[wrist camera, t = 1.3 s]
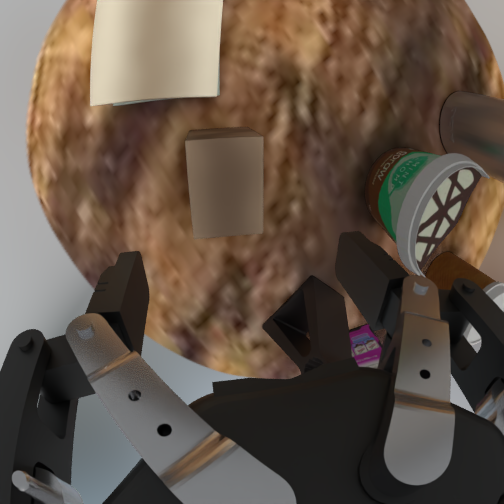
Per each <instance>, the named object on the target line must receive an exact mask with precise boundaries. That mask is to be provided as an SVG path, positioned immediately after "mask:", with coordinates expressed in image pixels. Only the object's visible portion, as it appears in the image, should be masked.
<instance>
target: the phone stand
mask: <svg viewBox="0 0 504 504" xmlns="http://www.w3.org/2000/svg"><path fill="white" fill-rule="evenodd" d="M262 328H263V329H264V330H265V331H266V332H267V333H268V334H269V336H270V337H271V338H272V339H273V340H274V341H275V342H276V343H277V344H278V345H279V346H280V347H281V348H282V350H283V351H284V352H285V353H286V354H287V355H288V356H289V357H290V358H291V359H292V360H293V361H294V362H295V363H296V364H297V366H298V367H299V369H300V371H301V374H303V373H306V372H308V371H310V370H312V369H314V368H317V367H319V366H321V365H323V364H328V363H332V362H336V361H341V360H345V359H349V358H352V350H351V342H350V335H349V327H348V320H347V314H346V307H345V301H344V297H343V296H341V295H340V294H339V293H337V292H336V291H334V290H333V289H331V288H330V287H328V286H327V285H325V284H324V283H322V282H321V281H319V280H318V279H316V278H315V277H314V276H310V277H309V278H308V279H307V280H306V281H305V282H304V283H303V285H302V286H301V287H300V288H299V289H298V290H297V291H296V292H295V293H294V294H293V295H292V296H291V297H290V298H289V299H288V300H287V302H286V303H284V304H283V305H282V306H281V307H280V308H279V309H278V310H277V311H276V312H275V313H274V314H273V315H272V316H271V317H270V318H269V319H268V320H267V321H266V322H265V323H264V324H263V326H262ZM308 331H309V334H310V340H309V339H308V338H307V337H306V333H307V332H308Z"/></svg>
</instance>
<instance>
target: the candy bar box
mask: <svg viewBox="0 0 504 504" xmlns="http://www.w3.org/2000/svg"><path fill="white" fill-rule="evenodd" d="M349 335H350V342H351V350H352V358H353V357H354V358H355V360H356V362H357V364H358V366H359V367H371V368H377V367H378V363H379V359H380V354H381V349H382V344H381V343H380V341H379V339H378V338H377V336H376V335H375V333H374V331H373V330H372V328H371V327H370V325H369V324H367V325H364V326H361V327H358V328H355V329H352V330H350V331H349Z"/></svg>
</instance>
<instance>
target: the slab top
mask: <svg viewBox="0 0 504 504" xmlns="http://www.w3.org/2000/svg"><path fill="white" fill-rule="evenodd" d="M222 6H223V0H97V6H96V13H95V21H94V31H93V41H92V55H91V78H90V106H97V105H107V104H115V103H123V102H132V101H142V100H154V99H169V98H194V97H217V87H218V67H219V49H220V33H221V19H222Z"/></svg>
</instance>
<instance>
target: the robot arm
mask: <svg viewBox="0 0 504 504" xmlns="http://www.w3.org/2000/svg"><path fill="white" fill-rule="evenodd" d="M440 133H441V139H442V143H443V145H444V148H445V150H446V152H447V153H448V154H450V153H458V154H463V155H465V156H467V157H468V158H470V159H471V160H473V161H474V162H475V163H477V164H478V165H479V166H480V167H481V168H482V169H483V170H484V171H485V173H487V175H489V176H491V177H493V178H495V179H497V180H499V181H501V182H503V183H504V99H499V98H495V97H490V96H486V95H481V94H475V93H469V92H463V91H458V92H454V93H453V94H452V95H450V96H449V97H448V99H447V100H446V102H445V104H444V106H443V109H442V112H441V118H440ZM335 270H336V276H337V278H338V280H339V282H340V283H341V284H342V286H343V287H344V289H345V290H346V292H347V293H348V294H349V296H350V297H351V299H352V300H353V302H354V303H355V305H356V306H357V308H358V309H359V311H360V312H361V313H362V315H363V316H364V318H365V319H366V321H367V322H368V324H369V325H370V327H371V328H372V330H373V331H376V330H380V329H383V328H385V329H386V333H385V336H384V339H383V344H382V349H381V354H380V359H379V363H378V367H377V368H371V367H359V366H358V364H357V362H356V360H355V358H354V357H353V358H349V359H345V360H341V361H336V362H332V363H328V364H323V365H321V366H319V367H317V368H314V369H312V370H310V371H308V372H306V373H303V374H301V375H299V376H297V377H294V378H292V379H263V378H244V379H236V380H228V381H219V382H213V392H214V393H211V394H208V395H206V396H204V397H201V398H199V399H197V400H196V401H194V402H192V403H191V404H189V405H187V404H186V403H185V402H184V401H182V399H181V398H180V397H178V395H176V394H175V393H174V392H173V391H172V389H170V388H169V386H168V385H167V384H166V383H165V382H164V381H163V380H162V379H161V378H160V377H159V376H158V375H157V374H156V373H155V372H154V370H153V369H152V368H151V367H150V366H149V365H148V364H147V363H146V362H145V360H144V359H143V358H142V357H141V351H142V345H143V337H144V330H145V323H146V317H147V310H148V304H149V287H148V282H147V278H146V274H145V270H144V265H143V261H142V257H141V254H140V252H139V251H134V252H124V253H120V255H119V257H118V260H117V262H116V265H115V266H111V267H108V268H107V269H106V270H105V271H104V272H103V273H102V274H101V276H100V279H99V281H98V285H97V286H96V288H95V292H94V293H93V295H92V298H91V300H90V303H89V305H88V308H87V310H86V313H85V314H84V315H81V316H79V317H77V318H75V319H74V320H73V321H72V322H71V323H70V324H69V325H68V327H67V329H66V334H65V335H62V336H59V337H55V338H52V339H48V340H46V339H45V337H44V336H43V334H42V332H40V331H39V330H36V329H31V330H26V331H24V332H22V333H21V334H19V335H18V336H17V337H16V338H15V339H14V340H13V342H12V344H11V346H10V348H9V351H8V353H7V356H6V358H5V361H4V363H3V366H2V369H1V371H0V504H83V500H82V498H81V496H80V494H79V492H78V491H77V490H76V489H75V488H74V487H73V486H71V466H72V451H73V438H74V429H75V420H76V412H77V405H78V399H79V398H80V397H84V396H88V395H91V394H95V393H96V394H97V396H98V397H99V399H100V400H101V402H102V403H103V405H104V406H105V408H106V409H107V411H108V412H109V414H110V415H111V417H112V418H113V420H114V421H115V422H116V424H117V425H118V427H119V428H120V429H121V431H122V432H123V434H124V435H125V436H126V438H127V439H128V440H129V442H130V443H131V444H132V446H133V447H134V448H135V449H136V451H137V452H138V453H139V454H140V456H141V457H142V458H141V460H140V461H139V462H138V463H137V464H136V466H135V467H134V468H133V469H132V470H131V471H130V473H129V474H128V475H127V476H126V478H124V480H123V481H122V482H121V483H120V484H119V485H118V487H117V488H116V489H115V490H114V491H113V492H112V494H111V495H110V496H109V497H108V498H107V499H106V500H105V501H104V502H103V503H102V504H504V312H503V311H502V310H501V309H500V308H499V306H498V305H497V304H496V303H495V302H494V301H493V300H492V299H491V298H490V297H489V296H488V295H487V294H486V293H485V292H484V291H483V290H482V289H481V288H480V287H479V286H478V285H477V284H476V283H474V282H473V281H471V280H468V279H465V278H457V279H455V280H454V282H453V284H452V287H451V289H450V290H446V289H438V288H437V286H436V285H435V284H434V282H432V281H431V280H429V279H428V278H426V277H423V276H419V275H409V274H408V273H407V272H406V271H405V270H404V269H403V268H402V267H401V266H400V265H399V264H398V263H397V262H396V261H395V260H393V258H392V257H391V256H390V255H388V253H387V252H386V251H385V250H384V249H382V248H381V247H380V246H378V245H376V244H374V243H373V242H370V241H369V240H368V239H367V238H366V237H365V236H364V235H363V234H362V233H361V232H359V231H355V232H343V233H341V235H340V238H339V245H338V252H337V258H336V265H335ZM469 323H470V324H471V325H472V326H473V328H474V329H475V330H476V331H477V332H478V334H479V335H480V337H481V341H482V344H481V348H480V350H479V352H478V353H476V351H475V350H474V349H473V347H472V346H471V345H470V343H469V342H468V341H467V339H466V338H465V337H464V335H463V334H464V333H465V331H466V329H467V327H468V325H469ZM451 374H452V376H453V378H454V379H455V381H456V382H457V384H458V385H459V387H460V389H461V390H462V392H463V394H464V395H465V397H466V399H467V400H468V402H469V404H470V406H471V407H472V409H473V411H474V413H475V414H474V413H472V412H470V411H468V410H466V409H464V408H461V407H459V406H457V405H455V404H452V403H451V402H450V381H451V377H450V375H451ZM39 394H41V395H40V399H39ZM38 399H39V403H38ZM37 403H38V408H37Z"/></svg>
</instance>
